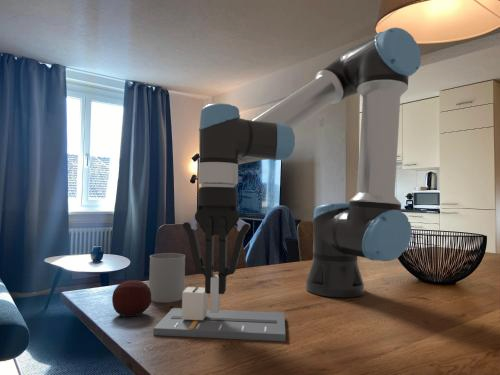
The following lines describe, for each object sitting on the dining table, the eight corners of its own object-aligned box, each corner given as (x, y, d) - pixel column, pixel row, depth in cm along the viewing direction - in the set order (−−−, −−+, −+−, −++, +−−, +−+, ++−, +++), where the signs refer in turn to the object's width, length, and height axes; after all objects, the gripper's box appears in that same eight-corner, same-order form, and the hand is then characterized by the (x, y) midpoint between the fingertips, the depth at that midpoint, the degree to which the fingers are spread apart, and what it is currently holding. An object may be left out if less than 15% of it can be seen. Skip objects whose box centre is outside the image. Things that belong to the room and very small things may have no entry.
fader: (207, 313, 72) (207, 286, 72) (203, 320, 68) (203, 291, 68) (186, 312, 72) (187, 285, 72) (181, 319, 68) (182, 291, 68)
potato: (117, 309, 78) (118, 276, 78) (154, 309, 79) (155, 276, 79) (106, 321, 71) (107, 284, 71) (147, 321, 71) (148, 284, 72)
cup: (175, 303, 84) (176, 259, 84) (142, 300, 85) (143, 257, 86) (189, 294, 92) (189, 254, 92) (158, 292, 93) (159, 252, 94)
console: (284, 318, 75) (284, 312, 75) (285, 341, 63) (285, 333, 63) (172, 313, 76) (173, 307, 76) (153, 335, 64) (153, 327, 64)
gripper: (253, 187, 74) (250, 306, 73) (189, 186, 74) (186, 303, 74) (250, 186, 66) (247, 318, 65) (179, 185, 67) (175, 315, 66)
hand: (215, 310), depth 70 cm, fingers closed
